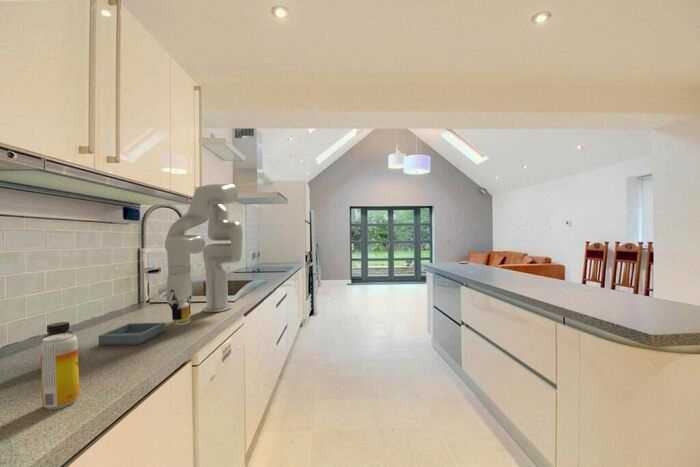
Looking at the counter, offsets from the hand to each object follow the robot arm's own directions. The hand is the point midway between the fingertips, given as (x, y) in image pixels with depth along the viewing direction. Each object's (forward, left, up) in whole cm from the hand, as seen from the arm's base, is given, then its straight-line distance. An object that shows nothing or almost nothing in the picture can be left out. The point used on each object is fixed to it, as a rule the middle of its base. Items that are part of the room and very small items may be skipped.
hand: (181, 316), depth 121 cm
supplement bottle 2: (0, 0, -3) cm, 3 cm away
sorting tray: (+8, -13, -6) cm, 16 cm away
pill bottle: (+50, +1, -6) cm, 50 cm away
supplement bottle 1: (+30, -19, -6) cm, 36 cm away
